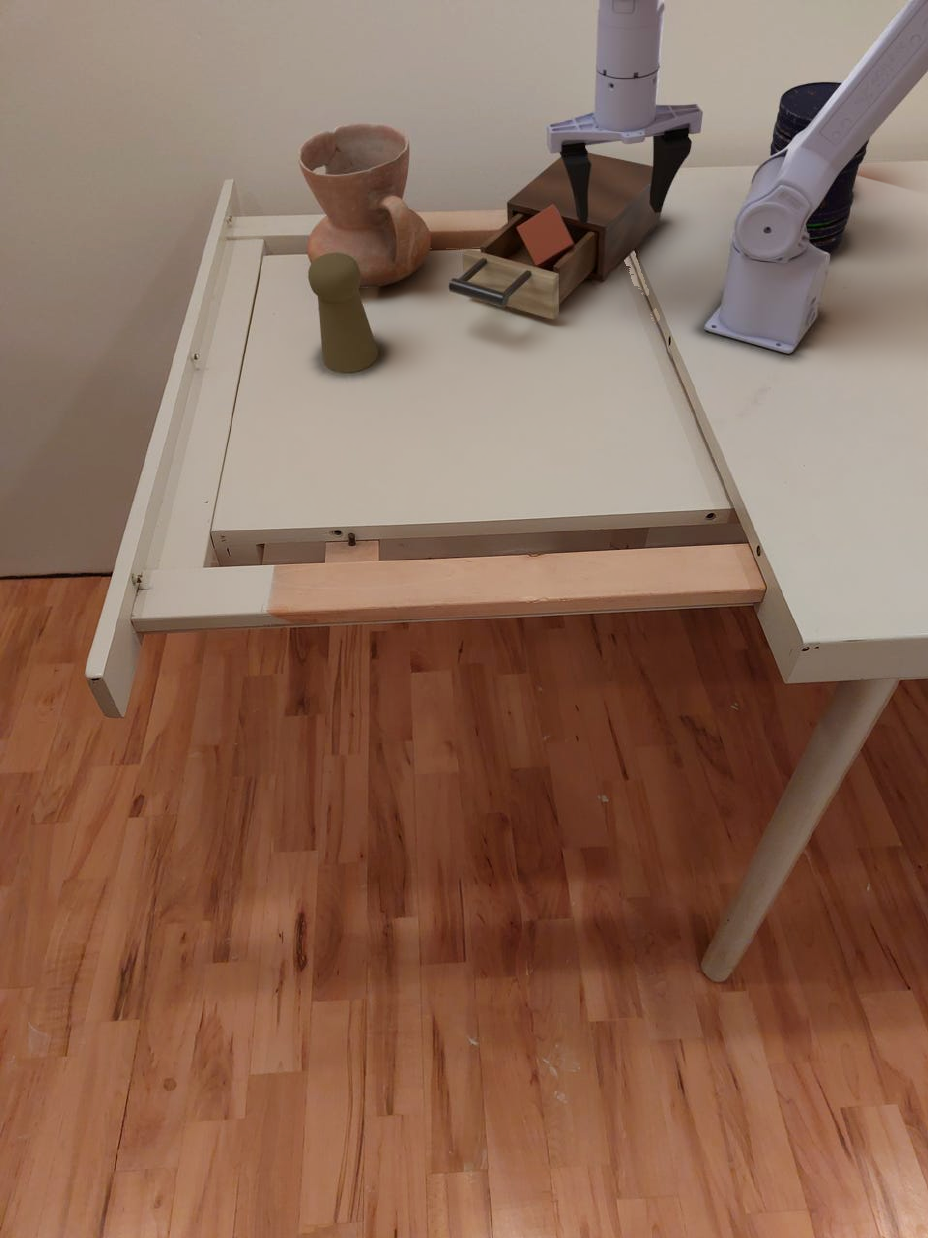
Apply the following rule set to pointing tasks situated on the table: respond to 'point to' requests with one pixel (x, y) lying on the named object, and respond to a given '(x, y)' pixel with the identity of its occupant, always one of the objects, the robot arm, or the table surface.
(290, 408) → the table surface
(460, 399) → the table surface
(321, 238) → the ceramic jug
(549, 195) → the cabinet
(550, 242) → the block
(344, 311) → the olive green pawn
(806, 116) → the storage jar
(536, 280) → the drawer
